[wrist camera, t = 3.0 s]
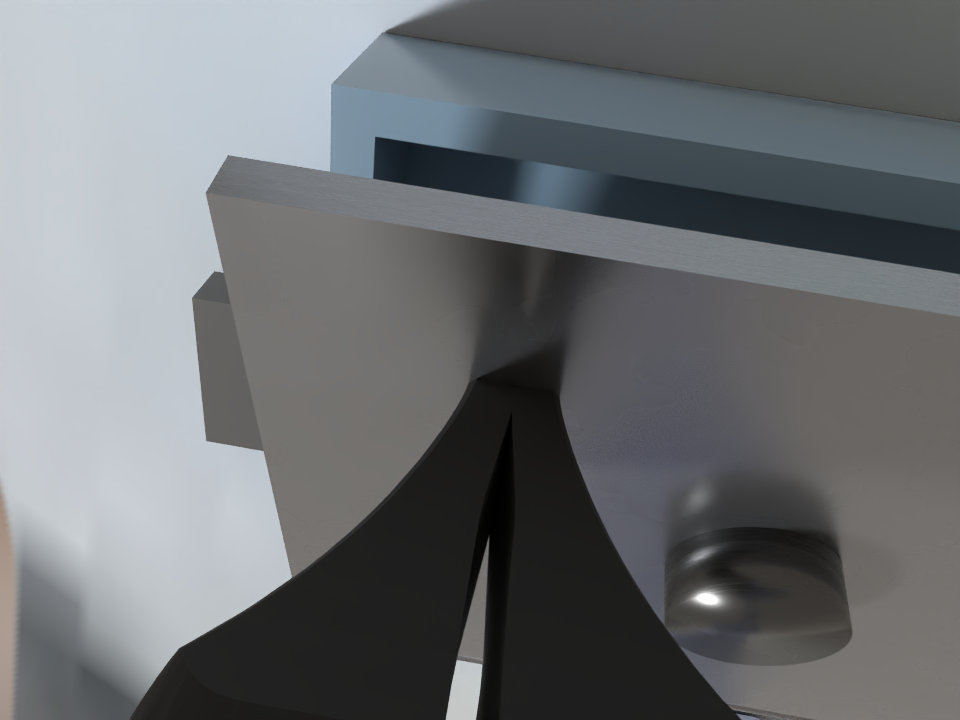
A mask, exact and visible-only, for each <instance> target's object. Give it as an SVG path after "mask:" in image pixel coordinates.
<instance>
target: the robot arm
mask: <svg viewBox="0 0 960 720" xmlns="http://www.w3.org/2000/svg"><path fill="white" fill-rule="evenodd" d="M488 538H489V549H488V568H487V588H486V609H485V629H484V650H483V666H482V677H481V688H480V696H479V703H478V710H477V717H476V720H760V719H759V718H756V717H752V716H746V715H741V714H736V713H735V712H734V711H733V710H732V709H731V708H730V707H729V706H728V705H727V704H726V703H725V702H724V701H723V700H722V699H721V697H720V696H719V695H718V694H717V693H716V691H715V690H714V689H713V688H712V687H711V685H710V684H709V683H708V682H707V681H706V679H705V678H704V677H703V676H702V675H701V673H700V672H699V671H698V670H697V669H696V667H695V666H694V665H693V664H692V662H691V661H690V660H689V658H688V657H687V655H686V654H685V653H684V651H683V650H682V649H681V647H680V646H679V645H678V643H677V642H676V641H675V639H674V638H673V637H672V635H671V634H670V632H669V631H668V630H667V628H666V627H665V626H664V624H663V623H662V622H661V620H660V619H659V618H658V616H657V615H656V613H655V612H654V611H653V609H652V607H651V606H650V604H649V603H648V601H647V600H646V598H645V597H644V595H643V593H642V592H641V590H640V589H639V587H638V586H637V584H636V583H635V581H634V579H633V578H632V576H631V574H630V572H629V571H628V569H627V567H626V566H625V564H624V562H623V561H622V559H621V557H620V555H619V553H618V552H617V550H616V548H615V546H614V544H613V542H612V540H611V538H610V536H609V534H608V532H607V530H606V528H605V526H604V524H603V522H602V520H601V518H600V516H599V514H598V512H597V510H596V507H595V505H594V503H593V501H592V498H591V496H590V494H589V491H588V489H587V486H586V484H585V481H584V479H583V476H582V474H581V471H580V469H579V466H578V464H577V461H576V458H575V455H574V452H573V449H572V446H571V443H570V440H569V437H568V433H567V430H566V426H565V423H564V419H563V415H562V410H561V404H560V398H559V397H558V396H557V395H556V393H555V392H552V391H546V390H540V389H534V388H527V387H521V386H516V385H510V384H504V383H498V382H492V381H486V380H480V379H475V380H473V381H471V382H469V383H468V385H467V388H466V390H465V393H464V394H463V396H462V398H461V400H460V402H459V404H458V406H457V407H456V409H455V410H454V412H453V414H452V415H451V417H450V418H449V420H448V421H447V423H446V424H445V426H444V427H443V429H442V430H441V431H440V433H439V434H438V435H437V437H436V438H435V439H434V441H433V442H432V443H431V445H430V446H429V448H428V449H427V450H426V452H425V453H424V454H423V455H422V457H421V458H420V459H419V460H418V462H417V463H416V464H415V465H414V466H413V467H412V469H411V470H410V471H409V472H408V473H407V474H406V475H405V477H404V478H403V479H402V480H401V481H400V482H399V483H398V485H397V486H396V487H395V488H394V489H393V490H392V491H391V492H390V493H389V495H388V496H387V497H386V498H385V499H384V500H383V501H382V502H381V503H380V504H379V505H378V506H377V507H376V508H375V509H374V510H373V511H372V512H371V513H370V514H369V515H368V516H367V517H366V518H364V519H363V520H362V521H361V522H360V523H359V524H358V525H357V526H356V527H355V528H354V529H353V530H352V531H350V532H349V533H348V534H347V535H346V536H345V537H343V538H342V539H341V540H340V541H339V542H337V543H336V544H335V545H334V546H333V547H332V548H330V549H329V550H328V551H327V552H326V553H324V554H323V555H322V556H321V557H320V558H318V559H317V560H316V561H314V562H313V563H312V564H311V565H309V566H308V567H307V568H305V569H304V570H303V571H301V572H300V573H299V574H297V575H296V576H294V577H293V578H291V579H290V580H289V581H287V582H286V583H284V584H283V585H281V586H280V587H279V588H277V589H276V590H274V591H273V592H271V593H270V594H268V595H267V596H266V597H264V598H263V599H261V600H260V601H258V602H257V603H256V604H254V605H252V606H251V607H249V608H248V609H246V610H245V611H243V612H241V613H240V614H238V615H236V616H235V617H233V618H231V619H229V620H228V621H226V622H224V623H222V624H221V625H219V626H217V627H216V628H214V629H212V630H210V631H209V632H207V633H205V634H204V635H202V636H200V637H198V638H197V639H195V640H193V641H191V642H190V643H188V644H186V645H184V646H182V647H181V648H179V649H178V651H177V652H176V653H175V654H174V656H173V657H172V658H171V659H170V661H169V662H168V663H167V665H166V666H165V667H164V669H163V670H162V671H161V673H160V674H159V675H158V677H157V678H156V680H155V681H154V683H153V684H152V685H151V687H150V688H149V690H148V691H147V693H146V694H145V696H144V697H143V699H142V700H141V702H140V703H139V705H138V706H137V708H136V710H135V711H134V713H133V714H132V716H131V718H130V720H446V714H447V708H448V702H449V696H450V690H451V684H452V679H453V675H454V670H455V665H456V661H457V657H458V653H459V649H460V645H461V641H462V637H463V634H464V630H465V626H466V622H467V618H468V615H469V611H470V607H471V603H472V599H473V596H474V592H475V588H476V584H477V580H478V577H479V573H480V569H481V565H482V561H483V558H484V554H485V550H486V546H487V542H488Z"/></svg>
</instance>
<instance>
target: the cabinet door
mask: <svg viewBox="0 0 960 720" xmlns="http://www.w3.org/2000/svg"><path fill="white" fill-rule="evenodd" d="M206 196H207V200H208V205H209V209H210V214H211V218H212V222H213V227H214V231H215V236H216V240H217V245H218V249H219V254H220V258H221V263H222V267H223V271H224V276H225V280H226V285H227V289H228V294H229V298H230V303H231V307H232V312H233V316H234V320H235V325H236V329H237V334H238V338H239V343H240V347H241V352H242V356H243V361H244V365H245V369H246V374H247V378H248V383H249V387H250V392H251V396H252V401H253V405H254V410H255V414H256V418H257V423H258V427H259V432H260V436H261V441H262V445H263V450H264V454H265V459H266V463H267V467H268V472H269V476H270V481H271V485H272V490H273V494H274V499H275V503H276V508H277V512H278V516H279V521H280V525H281V530H282V534H283V539H284V543H285V548H286V552H287V557H288V561H289V565H290V570H291V574H292V578H293V577H294V576H296V575H297V574H299V573H300V572H301V571H303V570H304V569H305V568H307V567H308V566H309V565H311V564H312V563H313V562H314V561H316V560H317V559H318V558H320V557H321V556H322V555H323V554H324V553H326V552H327V551H328V550H329V549H330V548H332V547H333V546H334V545H335V544H336V543H337V542H339V541H340V540H341V539H342V538H343V537H345V536H346V535H347V534H348V533H349V532H350V531H352V530H353V529H354V528H355V527H356V526H357V525H358V524H359V523H360V522H361V521H362V520H363V519H364V518H366V517H367V516H368V515H369V514H370V513H371V512H372V511H373V510H374V509H375V508H376V507H377V506H378V505H379V504H380V503H381V502H382V501H383V500H384V499H385V498H386V497H387V496H388V495H389V493H390V492H391V491H392V490H393V489H394V488H395V487H396V486H397V485H398V483H399V482H400V481H401V480H402V479H403V478H404V477H405V475H406V474H407V473H408V472H409V471H410V470H411V469H412V467H413V466H414V465H415V464H416V463H417V462H418V460H419V459H420V458H421V457H422V455H423V454H424V453H425V452H426V450H427V449H428V448H429V446H430V445H431V443H432V442H433V441H434V439H435V438H436V437H437V435H438V434H439V433H440V431H441V430H442V429H443V427H444V426H445V424H446V423H447V421H448V420H449V418H450V417H451V415H452V414H453V412H454V410H455V409H456V407H457V406H458V404H459V402H460V400H461V398H462V396H463V394H464V393H465V390H466V388H467V385H468V383H469V382H471V381H473V380H475V379H480V380H486V381H492V382H498V383H504V384H510V385H516V386H521V387H527V388H534V389H540V390H546V391H552V392H555V393H556V395H557V396H558V397H559V398H560V404H561V410H562V415H563V419H564V423H565V426H566V430H567V433H568V437H569V440H570V443H571V446H572V449H573V452H574V455H575V458H576V461H577V464H578V466H579V469H580V471H581V474H582V476H583V479H584V481H585V484H586V486H587V489H588V491H589V494H590V496H591V498H592V501H593V503H594V505H595V507H596V510H597V512H598V514H599V516H600V518H601V520H602V522H603V524H604V526H605V528H606V530H607V532H608V534H609V536H610V538H611V540H612V542H613V544H614V546H615V548H616V550H617V552H618V553H619V555H620V557H621V559H622V561H623V562H624V564H625V566H626V567H627V569H628V571H629V572H630V574H631V576H632V578H633V579H634V581H635V583H636V584H637V586H638V587H639V589H640V590H641V592H642V593H643V595H644V597H645V598H646V600H647V601H648V603H649V604H650V606H651V607H652V609H653V611H654V612H655V613H656V615H657V616H658V618H659V619H660V620H661V622H662V623H663V624H664V626H665V627H666V628H667V630H668V631H669V632H670V634H671V635H672V637H673V638H674V639H675V641H676V642H677V643H678V645H679V646H680V647H681V649H682V650H683V651H684V653H685V654H686V655H687V657H688V658H689V660H690V661H691V662H692V664H693V665H694V666H695V667H696V669H697V670H698V671H699V672H700V673H701V675H702V676H703V677H704V678H705V679H706V681H707V682H708V683H709V684H710V685H711V687H712V688H713V689H714V690H715V691H716V693H717V694H718V695H719V696H720V697H721V699H722V700H723V701H724V702H725V703H726V704H727V705H728V706H729V707H730V708H731V709H732V710H735V711H741V712H746V713H752V714H757V715H763V716H768V717H774V718H779V719H785V720H960V274H955V273H949V272H943V271H937V270H931V269H925V268H918V267H912V266H906V265H900V264H894V263H888V262H882V261H875V260H869V259H863V258H857V257H851V256H845V255H838V254H832V253H826V252H820V251H814V250H808V249H801V248H795V247H789V246H783V245H777V244H771V243H765V242H758V241H752V240H746V239H740V238H734V237H728V236H721V235H715V234H709V233H703V232H697V231H691V230H684V229H678V228H672V227H666V226H660V225H654V224H648V223H641V222H635V221H629V220H623V219H617V218H611V217H604V216H598V215H592V214H586V213H580V212H574V211H567V210H561V209H555V208H549V207H543V206H537V205H531V204H524V203H518V202H512V201H506V200H500V199H494V198H487V197H481V196H475V195H469V194H463V193H457V192H450V191H444V190H438V189H432V188H426V187H420V186H414V185H407V184H401V183H395V182H389V181H383V180H377V179H370V178H364V177H358V176H352V175H346V174H340V173H333V172H327V171H321V170H315V169H309V168H303V167H297V166H290V165H284V164H278V163H272V162H266V161H260V160H253V159H247V158H241V157H235V156H229V155H228V156H227V158H226V160H225V161H224V163H223V165H222V167H221V168H220V170H219V172H218V173H217V175H216V177H215V178H214V180H213V182H212V183H211V185H210V187H209V188H208V190H207V192H206ZM488 549H489V538H488V542H487V546H486V550H485V554H484V558H483V561H482V565H481V569H480V573H479V577H478V580H477V584H476V588H475V592H474V596H473V599H472V603H471V607H470V611H469V615H468V618H467V622H466V626H465V630H464V634H463V637H462V641H461V645H460V649H459V653H458V657H457V660H461V661H466V662H472V663H477V664H483V650H484V629H485V609H486V588H487V568H488Z"/></svg>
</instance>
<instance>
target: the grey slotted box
mask: <svg viewBox="0 0 960 720" xmlns="http://www.w3.org/2000/svg"><path fill="white" fill-rule="evenodd" d="M330 172H333V173H340V174H346V175H352V176H358V177H364V178H370V179H377V180H383V181H389V182H395V183H401V184H407V185H414V186H420V187H426V188H432V189H438V190H444V191H450V192H457V193H463V194H469V195H475V196H481V197H487V198H494V199H500V200H506V201H512V202H518V203H524V204H531V205H537V206H543V207H549V208H555V209H561V210H567V211H574V212H580V213H586V214H592V215H598V216H604V217H611V218H617V219H623V220H629V221H635V222H641V223H648V224H654V225H660V226H666V227H672V228H678V229H684V230H691V231H697V232H703V233H709V234H715V235H721V236H728V237H734V238H740V239H746V240H752V241H758V242H765V243H771V244H777V245H783V246H789V247H795V248H801V249H808V250H814V251H820V252H826V253H832V254H838V255H845V256H851V257H857V258H863V259H869V260H875V261H882V262H888V263H894V264H900V265H906V266H912V267H918V268H925V269H931V270H937V271H943V272H949V273H955V274H960V122H953V121H947V120H941V119H934V118H928V117H921V116H915V115H909V114H902V113H896V112H889V111H883V110H877V109H870V108H864V107H857V106H851V105H845V104H838V103H832V102H825V101H819V100H813V99H806V98H800V97H793V96H787V95H781V94H774V93H768V92H761V91H755V90H748V89H742V88H736V87H729V86H723V85H716V84H710V83H704V82H697V81H691V80H684V79H678V78H672V77H665V76H659V75H652V74H646V73H640V72H633V71H627V70H620V69H614V68H608V67H601V66H595V65H588V64H582V63H575V62H569V61H563V60H556V59H550V58H543V57H537V56H531V55H524V54H518V53H511V52H505V51H499V50H492V49H486V48H479V47H473V46H467V45H460V44H454V43H447V42H441V41H435V40H428V39H422V38H415V37H409V36H403V35H396V34H390V33H382V34H381V35H380V36H379V37H378V38H377V39H376V40H375V41H374V42H373V43H372V44H371V45H370V46H369V47H368V48H367V49H366V50H365V51H364V52H363V53H362V54H361V55H360V56H359V57H358V58H357V59H356V60H355V61H354V62H353V63H352V64H351V65H350V66H349V67H348V68H347V69H346V70H345V71H344V72H343V73H342V74H341V75H340V76H339V77H338V78H337V79H336V80H335V81H334V82H333V83H332V92H331V168H330ZM192 301H193V311H194V321H195V331H196V341H197V351H198V361H199V371H200V381H201V391H202V402H203V412H204V422H205V432H206V441H210V442H215V443H221V444H227V445H233V446H238V447H244V448H250V449H255V450H261V451H264V450H263V445H262V441H261V436H260V432H259V427H258V423H257V418H256V414H255V410H254V405H253V401H252V396H251V392H250V387H249V383H248V378H247V374H246V369H245V365H244V361H243V356H242V352H241V347H240V343H239V338H238V334H237V329H236V325H235V320H234V316H233V312H232V307H231V303H230V298H229V294H228V289H227V285H226V280H225V276H224V273H221V272H215V271H214V273H213V274H212V275H211V276H210V277H209V279H208V280H207V281H206V282H205V283H204V284H203V286H202V287H201V288H200V289H199V290H198V292H197V293H196V294H195V295H194V296H193V298H192Z"/></svg>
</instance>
